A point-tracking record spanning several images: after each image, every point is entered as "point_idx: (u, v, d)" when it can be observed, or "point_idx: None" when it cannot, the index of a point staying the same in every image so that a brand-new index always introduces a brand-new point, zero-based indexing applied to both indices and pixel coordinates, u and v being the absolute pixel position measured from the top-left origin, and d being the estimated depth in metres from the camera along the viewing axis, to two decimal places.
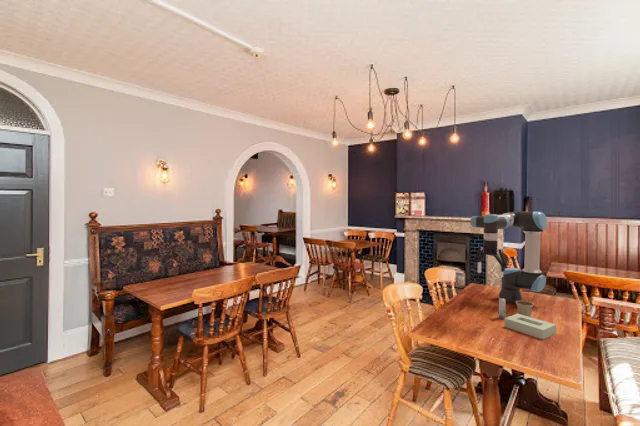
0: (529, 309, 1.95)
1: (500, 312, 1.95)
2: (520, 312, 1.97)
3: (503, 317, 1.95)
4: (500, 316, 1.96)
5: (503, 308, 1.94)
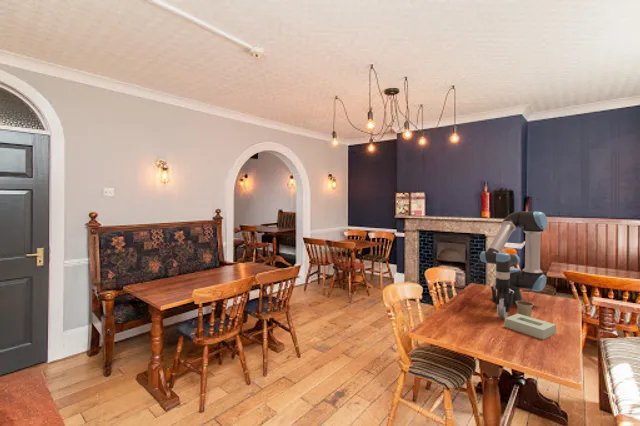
0: (529, 309, 1.95)
1: (500, 312, 1.95)
2: (520, 312, 1.97)
3: (503, 317, 1.95)
4: (500, 316, 1.96)
5: (503, 308, 1.94)
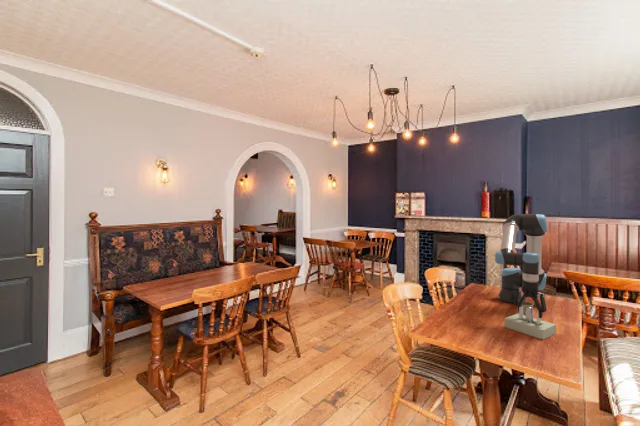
0: None
1: None
2: None
3: None
4: None
5: (531, 317, 1.76)
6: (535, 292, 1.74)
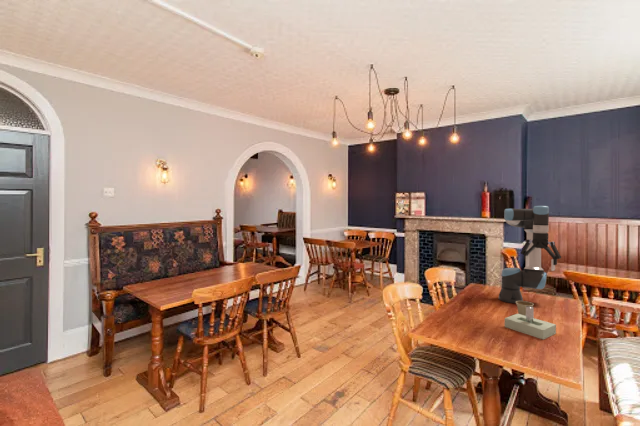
0: None
1: None
2: (520, 312, 1.97)
3: None
4: None
5: (531, 317, 1.76)
6: (545, 242, 1.83)
